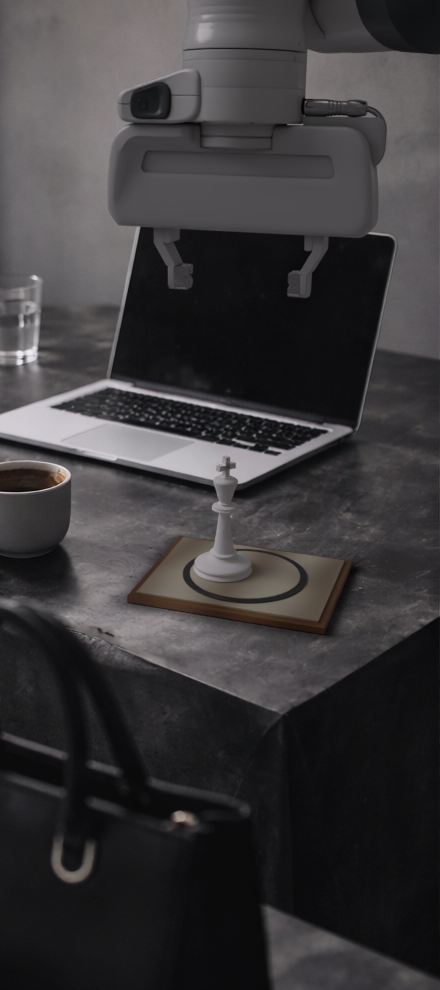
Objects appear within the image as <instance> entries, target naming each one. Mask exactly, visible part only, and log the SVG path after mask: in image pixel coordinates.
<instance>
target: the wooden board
mask: <svg viewBox="0 0 440 990" xmlns="http://www.w3.org/2000/svg"><path fill="white" fill-rule="evenodd" d="M214 543H215V540H212V539H203V538H198V537H197V538H196V537H190V536H183V535H179V536H178V537H177V538H176V539H175V541H174V542H173V543H171V545H170V546H169V547H168V548H167V549H166V551H165V552H164V553H163V554H162V555H161V556H160V558H159V559H158V560H157V561H155V563H154V565H152V567H151V568H150V569H149V570H148V571H147V572H146V574H145V575H143V576H142V578H141V579H140V580H139V581H138V582H137V584H136V585H135V586H134V587H133V588H132V589H131V591H130V592H129V593H128V594H127V595H126V602H127V603H129V604H136V605H143V606H148V607H155V608H161V609H164V610H165V609H167V610H171V611H172V610H173V611H179V612H184V613H189V614H195V615H196V614H197V615H202V616H208V617H216V618H221V619H227V620H232V621H233V620H234V621H240V622H244V623H245V622H246V623H251V624H258V625H263V626H269V627H276V628H281V629H286V630H287V629H288V630H294V631H299V632H305V633H311V634H319V635H325V634H326V631H327V629H328V627H329V623H330V621H331V618H332V616H333V613H334V611H335V609H336V607H337V604H338V602H339V599H340V598H341V594H342V592H343V590H344V587H345V585H346V582H347V580H348V577H349V575H350V572H351V570H352V567H353V560H350V559H344V558H343V559H342V558H336V557H329V556H320V555H315V554H307V553H300V552H295V551H294V552H293V551H288V550H287V551H286V550H280V549H273V548H267V547H259V546H253V545H247V544H238V543H233V547H234V549H236V550H237V552H238V553H241V554H243V555H245V556H247V557H248V558H249V559H250V561H251V563H252V565H251V567H252V573H251V575H250V576H248V577H247V578H245V579H243V580H239V581H235V582H214V581H209V580H206V579H203V578H201V577H199V576H198V575H197V574H196V573H195V572H194V569H193V568H194V565H195V559H196V558H197V557H198V556H199V555H201V554H203V553H205V552H209V551H210V550H211V549H212V548H213V547H214Z"/></svg>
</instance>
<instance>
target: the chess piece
mask: <svg viewBox="0 0 440 990" xmlns="http://www.w3.org/2000/svg"><path fill="white" fill-rule="evenodd" d="M221 461H222V463H220V464H217V465H216V467H215V471H216V472H219V473H221V475H218V476H216V477H214V478H213V480H212V482H213V487H214V489H215V492H216V496H217V499H218V501H215V502H213V504H212V506H211V509H212V511H213V512H214V513H218V516H217V525H216V531H215V538H214V541H215V543H214V547H213V548H212V549H211V550H210V551H209V552H205V553H203V554H201V555H199V556H198V557H197V558H196V559H195V565H194V568H193V569H194V572H195V573H196V574H197V575H198V576H199V577H201V578H203V579H206V580H209V581H214V582H235V581H239V580H243V579H245V578H247V577H248V576H250V575H251V573H252V567H251V565H252V563H251V561H250V559H249V558H248V557H247V556H245V555H243V554H241V553H238V552H237V550H236V549H234V547H233V544H234V541H233V531H232V519H231V518H232V517H231V514H233V513H234V514H235V513H236V512H238V510H239V508H238V505H237V504H236V503H235V502H233V501H232V499H233V497H234V494H235V491H236V489H237V486H238V484H239V479H238V478H236V477H235V476H233V475H231V473H230V472H231V470H233V469H236V468H237V463H236V462H234V461H231V456H228V455H223V456H222V460H221Z"/></svg>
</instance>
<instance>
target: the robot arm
mask: <svg viewBox="0 0 440 990" xmlns="http://www.w3.org/2000/svg"><path fill="white" fill-rule="evenodd" d="M186 2H187V25H186V31H185V33H184V38H183V43H182V52H181V53H182V54H181V55H182V56H181V57H182V58H181V60H182V62H181V64H182V67H181V68H180V69H178V70H175V71H174V72H171V73H168V74H164V75H163V76H160V77H157V78H154V79H151V80H149V81H144V82H143V83H140V84H136V85H133V86H131V87H128V88H126V89H123V90H122V91H121V92H120V93H119V94H118V96H117V99H116V100H117V101H116V107H117V108H116V109H117V114H118V117H119V119H120V120H121V121H122V122H126V123H127V124H125V125H123V126H122V127H120V128H119V130H117V132H116V133H115V135H114V137H113V139H112V142H111V146H110V150H109V158H108V159H109V160H108V168H107V184H106V185H107V186H106V187H107V190H106V191H107V192H106V193H107V194H106V196H107V198H106V199H107V200H106V202H107V210H108V213H109V215H110V217H111V218H112V219H113V221H114V222H115V224H117V226H122V227H138V228H153V244H154V246H155V248H156V249H157V251H158V253H159V255H160V257H161V258H162V260H163V262H164V264H165V266H167V286H168V289H170V290H171V289H172V290H186V291H187V290H189V289H191V288H192V287H193V283H194V279H193V277H192V275H193V273H194V264H192V263H184V262H183V260H182V258H181V255H180V253H179V251H178V249H177V247H176V245H175V243H174V242H177V241H180V239H181V238H180V237H181V235H180V234H181V230H196V231H213V232H214V231H215V232H216V231H217V232H233V233H235V232H236V233H255V234H274V235H292V236H304V241H303V242H304V245H303V250H304V251H305V252H310V254H309V256H308V257H307V258H306V261H305V262H304V264H303V266H302V267H301V269H300V270H291V272H289V273H287V284H288V285H289V286H288V287H287V290H286V291H287V292H286V294H287V297H288V298H299V299H300V298H301V299H307V298H309V297H310V296H311V292H312V281H313V280H312V277H313V272H315V270H316V269H317V267H318V266H319V264H320V262H321V260H322V259H323V257H324V256H325V254H326V252H328V249H329V237H333V238H349V239H351V238H352V239H361V238H364V237H365V236H367V235H368V234H369V233H370V232H371V231H372V230H373V229H375V227H377V224H378V221H379V178H378V177H379V175H378V165H379V164H380V163H381V162H382V161H383V159H384V157H385V154H386V149H387V138H388V123H387V121H386V119H385V116H384V115H383V114H382V112H381V111H379V110H378V109H376V108H375V107H373V106H370V105H369V104H368V101H366V100H362V99H348V100H336V99H335V100H334V99H327V98H306V95H307V92H306V91H307V89H306V88H307V71H308V70H307V69H308V51H312V52H316V53H319V54H325V55H326V54H328V55H333V54H334V55H335V54H372V53H387V52H400V53H410V54H411V53H412V54H421V55H422V54H424V55H437V56H438V55H440V0H186ZM368 113H369V114H371V115H372V116H374V117H370V116H369V117H366V116H367V115H368Z"/></svg>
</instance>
